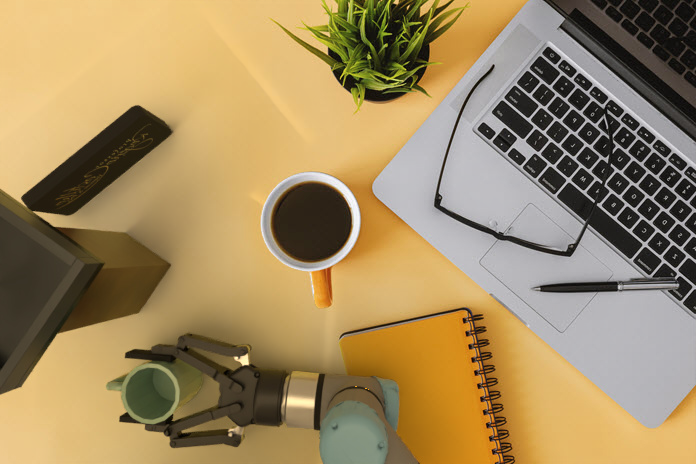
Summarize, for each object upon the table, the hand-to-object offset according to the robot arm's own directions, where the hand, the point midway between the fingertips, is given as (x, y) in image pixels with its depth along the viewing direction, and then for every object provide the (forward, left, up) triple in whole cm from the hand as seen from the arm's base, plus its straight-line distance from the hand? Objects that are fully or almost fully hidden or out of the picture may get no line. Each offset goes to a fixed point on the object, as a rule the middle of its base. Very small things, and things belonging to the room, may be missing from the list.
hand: (127, 384), depth 68 cm
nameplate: (+23, +22, -6) cm, 33 cm away
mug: (+2, -3, -6) cm, 7 cm away
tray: (+11, +11, +20) cm, 25 cm away
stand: (+11, +11, -6) cm, 17 cm away
